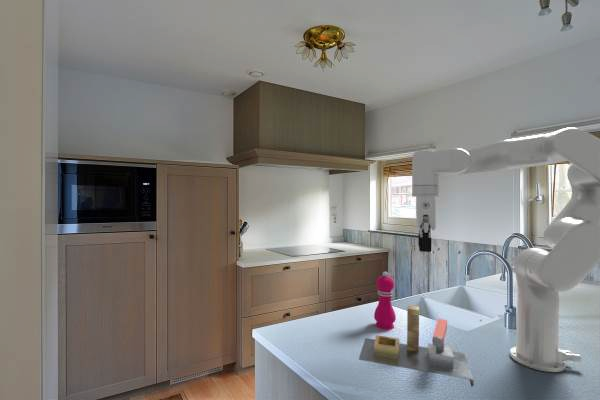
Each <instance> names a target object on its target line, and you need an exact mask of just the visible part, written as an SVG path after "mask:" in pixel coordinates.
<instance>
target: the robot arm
mask: <svg viewBox="0 0 600 400" xmlns="http://www.w3.org/2000/svg"><path fill="white" fill-rule="evenodd" d="M411 161H412V164H411V169H412V171H411V197H412V198H413V197H415V211H416V212H415V215H416V216H415V217H416V227H417V230H419V231H418V232H419V233H418V241H417V242H418V244H417V246H418V251H419V252H423V253H431V252H432V235H431V234H432V233H431V232H432V231H434V232H435V231H436V230H437V226H436V223H437V222H436V217H437V216H436V213H437V212H436V209H437V208H436V207H437V206H436V198H439V196H440V175H441V176H443V177H454V176H461V175H470V174H478V173H485V172H501V171H508V170H509V171H510V170H517V169H522V168H523V169H524V168H531V167H532V168H533V167H538V166H539V167H540V166H546V165H547V166H548V165H554V164H559V163H566V162H568V163H570V165H569V166H568V169H567V173H566V174H567V179H568V182H569V184H570V189H571V197H570V199H569V201H568V202H567V203H566V205H565V206H564V207H563V209H561V211H560V212H559V213H558V214H557V215H556V217H555V218H554V219H553V220H552V221H551V222H550V223H549V224H548V225H547V227H545V230H544V232H543V241H544V242H545V244H546V245H547V246H548V247H549V248H551V250H546V249H543V248H540V247H528V248H525V249H523V250H521V251H520V252H519V253H518V254H517V255H516V257H515V260H514V274H515V278H516V280H515V281H516V289H517V290H516V292H517V293H516V300H517V301H516V334H515V335H516V336H515V337H516V342H515V343H516V344H515V345H516V346H512V347H511V348H510V350H509V356H510V357H511V358H512V359H513V360H514V361H516V362H517V363H518V364H520V365H523V366H525V367H527V368H529V369H530V368H531V369H533V370H537V371H541V372H545V373H546V372H547V373H560V372H563V371H565V370H566V368H567V367H566V362H568V361H571V362H575V363H581V362H582V357H581V355H580V354H576V353H571V351H570V350H565V349H561V348H560V347H559V345H560V344H559V340H560V339H559V338H560V337H559V335H560V332H559V331H560V330H559V329H560V295H559V293H562V292H563V293H565V292H568V291H570V290H572V289H574V288H575V287H577V286H578V285H579V284H580V283H581V282H582V281H583V280H584V279H585V278H586V277H587V276H588V275H589V274H590V272H591V271H592V270H593V269H594V268H595V267H596V266H597V264H598V263H600V138H599V137H598V136H596V135H594V134H591V133H590V132H588V131H585V130H583V129H581V128H577V127H566V128H562V129H559V130H557V131H553V132H551V133H546V134H538V135H531V136H526V137H518V138H511V139H505V140H501V141H495V142H493V143H490V144H487V145H485V146H480V147H477V148H472V149H466V150H465V149H463V148H459V147H456V148H455V147H454V148H445V149H437V150H435V149H434V150H433V149H422V150H421V149H420V150H417V151H415V152H414V153H413V154H412V160H411ZM431 230H432V231H431Z"/></svg>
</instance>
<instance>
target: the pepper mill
mask: <svg viewBox="0 0 600 400" xmlns="http://www.w3.org/2000/svg"><path fill="white" fill-rule="evenodd" d="M376 287H377V295H378V298H379V299H378V304H377V306H376V308H375V310H374V313H373V314H374V315H373V318H374V320H375V321H376V322H375V325H374V326H375V327H376V328H377V329H380V330H383V331H387V330H388V331H390V330H393V329H395V325H394V323H395V321H397V320H396V319H397V318H396V313H395V312H396V311H395V310H394V308H393V306H392V305H393V304H392V296H393V295H394V294H393V292H394V291H393V289H394V288H395V282H394V280H393V278H392V277H390V276H389V274H388V272H387V271H383V272H382V275H381V276H379V277H378V278H377V280H376Z"/></svg>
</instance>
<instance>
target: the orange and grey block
mask: <svg viewBox="0 0 600 400" xmlns="http://www.w3.org/2000/svg"><path fill="white" fill-rule="evenodd" d="M447 329H448V320H447V319H443V318H437V321H436V324H435V328H434V331H433V334H432V341H431V342H432V344H433V345H434V346H436V350H437V351H441V352H443V351H444V346H445V339H446V333H447Z"/></svg>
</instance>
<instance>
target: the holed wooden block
mask: <svg viewBox="0 0 600 400" xmlns="http://www.w3.org/2000/svg"><path fill="white" fill-rule="evenodd" d="M374 339H375V343H374V355H375V356H380V357H386V358H392V359H398V360H399V343H400V338H397V337H391V336H384V335H378V334H377V335H376V336H375V338H374Z"/></svg>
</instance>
